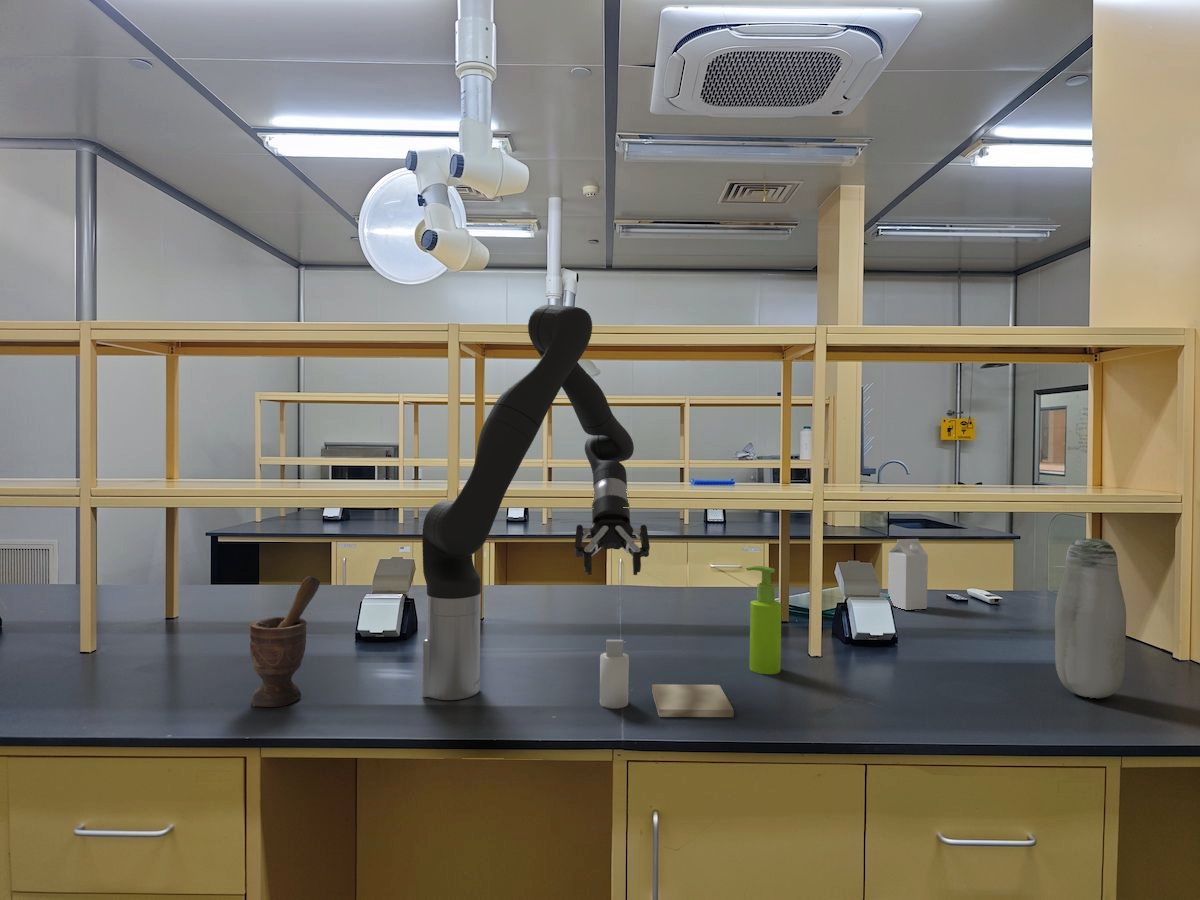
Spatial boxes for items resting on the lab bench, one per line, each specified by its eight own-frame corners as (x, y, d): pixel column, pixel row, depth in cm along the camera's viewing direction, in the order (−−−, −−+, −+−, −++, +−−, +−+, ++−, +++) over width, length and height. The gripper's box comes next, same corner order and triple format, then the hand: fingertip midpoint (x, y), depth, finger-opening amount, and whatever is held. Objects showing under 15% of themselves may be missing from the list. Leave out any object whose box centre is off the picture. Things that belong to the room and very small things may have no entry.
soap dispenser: (753, 662, 144) (754, 563, 144) (785, 669, 139) (786, 567, 139) (739, 668, 139) (740, 567, 139) (772, 676, 135) (773, 571, 135)
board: (659, 716, 114) (659, 709, 114) (651, 691, 126) (651, 684, 126) (733, 717, 114) (733, 709, 114) (719, 691, 126) (719, 684, 126)
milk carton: (887, 606, 198) (888, 537, 198) (908, 604, 200) (909, 537, 200) (905, 611, 191) (906, 541, 191) (927, 610, 193) (928, 540, 193)
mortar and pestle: (281, 684, 127) (283, 572, 127) (325, 687, 125) (327, 574, 125) (237, 707, 116) (239, 584, 115) (285, 711, 114) (287, 587, 114)
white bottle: (599, 708, 117) (600, 644, 117) (599, 698, 122) (600, 636, 122) (628, 708, 117) (629, 644, 117) (627, 698, 122) (628, 636, 122)
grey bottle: (1111, 710, 120) (1114, 544, 119) (1045, 692, 128) (1047, 537, 128) (1133, 698, 125) (1135, 540, 125) (1068, 682, 134) (1070, 534, 134)
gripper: (575, 493, 141) (574, 560, 129) (647, 493, 141) (652, 560, 130) (575, 517, 146) (574, 584, 135) (644, 517, 146) (649, 584, 135)
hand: (612, 572), depth 132 cm, fingers open, 8 cm apart
